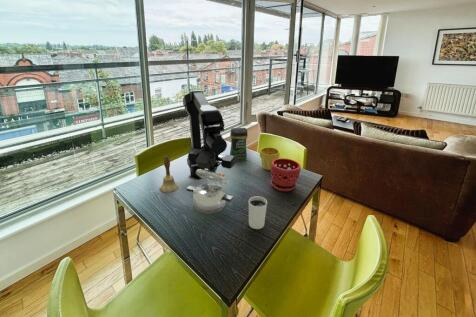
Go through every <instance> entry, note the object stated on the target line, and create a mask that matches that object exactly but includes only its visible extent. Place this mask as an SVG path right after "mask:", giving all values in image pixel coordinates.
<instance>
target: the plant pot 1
mask: <svg viewBox="0 0 476 317" xmlns="http://www.w3.org/2000/svg"><path fill="white" fill-rule="evenodd" d="M280 154H281V151H280V150H279V149H278V148H276V147H270V146H267V147H263V148H260V150H259V157H260V159H261V166H262V169H264V170H266V171H271V165H272V161H273V160H275V159H280ZM275 166H277V164H275Z"/></svg>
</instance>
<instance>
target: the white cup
mask: <svg viewBox="0 0 476 317" xmlns="http://www.w3.org/2000/svg"><path fill="white" fill-rule="evenodd" d="M267 207H268V201H267V199H266V198H265V197H262V196H257V195H256V196H252V197H250V198H249V199H248V225H249V227H250V228H251V229H255V230H260V229H262V228H264V227H265V220H266V214H267Z"/></svg>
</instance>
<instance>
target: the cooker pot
mask: <svg viewBox="0 0 476 317" xmlns="http://www.w3.org/2000/svg"><path fill="white" fill-rule="evenodd" d="M185 188H186V191H187V192H190V193H192V197H193V198H192V199H193V208H194V210H196V211H197V212H199V213H201V214H205V215H206V214H208V215H210V214H211V215H212V214H215V213H219V212H221V211H222V210H223V209H224V208H225V206H226V202H230V203H232V200H234V199H233V198H234V196H233V195H228V194H226V190H225V188H224V187H223V186H222V185H221V184H217V183H204V184H200V185H198V186H193V185H188V186H187V187H185Z"/></svg>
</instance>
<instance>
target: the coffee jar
mask: <svg viewBox="0 0 476 317" xmlns="http://www.w3.org/2000/svg"><path fill="white" fill-rule="evenodd" d="M229 133H230V134H229V136H230V139H231V141H230V149H229V150H230V151H229V155H232V156H235V157H236V162H242V161H243V162H244V161H246V160H247V154H248V153H247V139H248V136H249V135H248V134H249V133H248V129H247V128H246V127H231V129H230V132H229Z"/></svg>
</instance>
